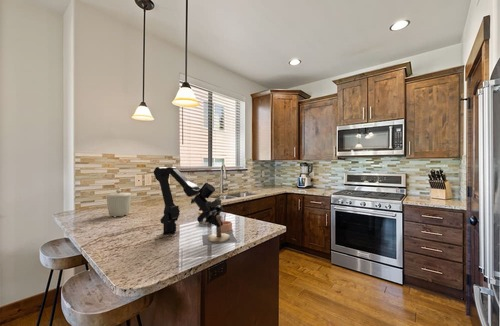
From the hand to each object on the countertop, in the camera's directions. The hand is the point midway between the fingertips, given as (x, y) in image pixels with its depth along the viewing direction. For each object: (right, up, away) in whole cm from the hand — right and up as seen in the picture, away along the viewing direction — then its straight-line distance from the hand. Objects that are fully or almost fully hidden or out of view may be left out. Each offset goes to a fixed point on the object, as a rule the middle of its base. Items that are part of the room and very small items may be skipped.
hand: (221, 225), depth 116 cm
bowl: (0, -7, +16) cm, 18 cm away
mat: (-1, -7, 0) cm, 7 cm away
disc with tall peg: (-1, -7, 0) cm, 7 cm away
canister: (-89, -9, +58) cm, 106 cm away
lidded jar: (-15, -8, +34) cm, 38 cm away
